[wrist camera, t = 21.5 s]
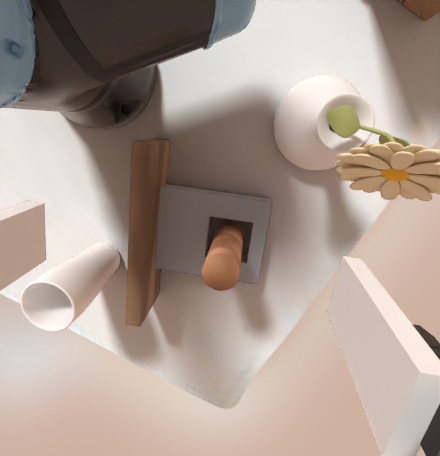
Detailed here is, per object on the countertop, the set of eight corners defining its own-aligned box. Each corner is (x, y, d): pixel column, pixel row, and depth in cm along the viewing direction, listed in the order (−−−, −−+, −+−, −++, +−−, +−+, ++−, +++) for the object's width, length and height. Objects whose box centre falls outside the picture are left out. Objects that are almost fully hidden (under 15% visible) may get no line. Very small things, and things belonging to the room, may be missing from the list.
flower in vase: (255, 131, 43) (255, 134, 19) (316, 56, 40) (408, -52, 16) (326, 193, 44) (409, 269, 21) (392, 126, 41) (579, 124, 17)
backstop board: (146, 291, 52) (125, 324, 43) (155, 138, 45) (132, 141, 36) (159, 294, 52) (139, 326, 43) (169, 140, 44) (149, 143, 36)
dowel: (215, 243, 48) (199, 287, 35) (218, 218, 47) (203, 253, 34) (241, 247, 48) (236, 293, 35) (245, 222, 47) (241, 259, 33)
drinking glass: (76, 246, 51) (7, 292, 37) (112, 230, 49) (54, 271, 35) (98, 282, 52) (39, 339, 38) (133, 267, 51) (86, 322, 37)
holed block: (161, 260, 50) (155, 268, 47) (166, 183, 46) (160, 187, 43) (257, 275, 49) (257, 284, 46) (270, 198, 45) (271, 203, 42)
